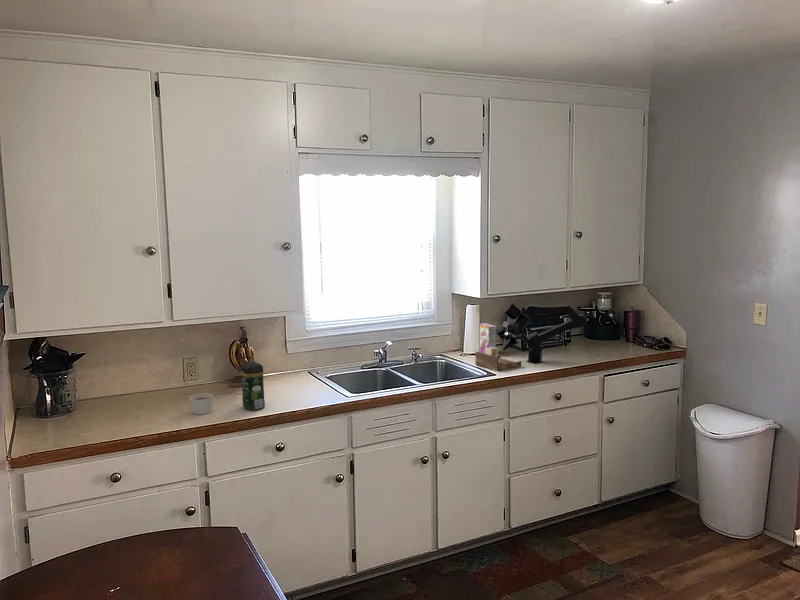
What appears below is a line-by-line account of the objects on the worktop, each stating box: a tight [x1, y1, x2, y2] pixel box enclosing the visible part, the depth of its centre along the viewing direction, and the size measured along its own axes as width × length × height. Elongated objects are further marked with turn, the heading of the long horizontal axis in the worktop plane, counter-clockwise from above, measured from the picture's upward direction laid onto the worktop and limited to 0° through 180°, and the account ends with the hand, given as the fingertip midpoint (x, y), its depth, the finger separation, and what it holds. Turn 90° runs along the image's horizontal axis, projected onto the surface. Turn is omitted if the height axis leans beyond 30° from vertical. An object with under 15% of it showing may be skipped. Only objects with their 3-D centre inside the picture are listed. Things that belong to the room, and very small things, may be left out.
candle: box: [188, 392, 214, 415], centre depth 256 cm, size 9×9×6 cm
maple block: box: [485, 347, 499, 357], centre depth 325 cm, size 4×5×8 cm
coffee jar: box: [240, 360, 266, 411], centre depth 261 cm, size 10×8×19 cm
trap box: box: [475, 351, 522, 372], centre depth 328 cm, size 16×16×7 cm
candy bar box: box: [479, 322, 497, 354], centre depth 355 cm, size 11×5×16 cm, turn 22°
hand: (503, 349), depth 329 cm, fingers closed
